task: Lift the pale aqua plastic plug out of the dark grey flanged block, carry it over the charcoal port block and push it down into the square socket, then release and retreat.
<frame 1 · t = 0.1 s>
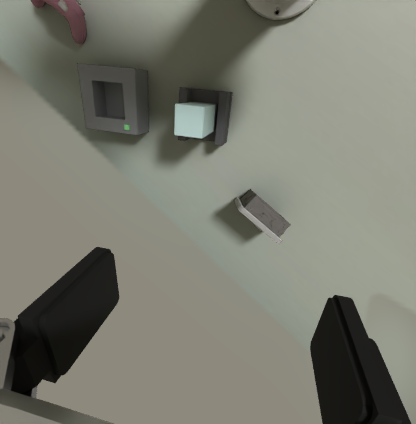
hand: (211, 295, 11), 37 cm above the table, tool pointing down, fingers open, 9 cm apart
electrical switch: (260, 204, 47), on the table
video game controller: (68, 9, 40), on the table
plug: (205, 116, 41), point 1 cm above the table, touching dark grey flanged block
port: (122, 100, 44), on the table
dark grey flanged block: (206, 115, 42), on the table
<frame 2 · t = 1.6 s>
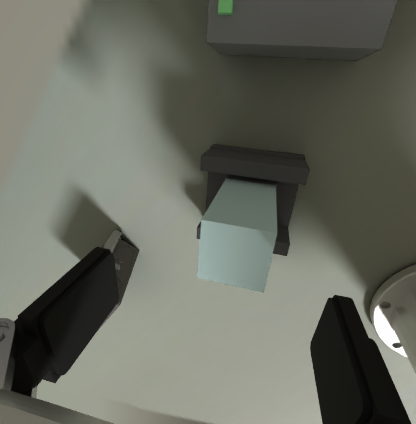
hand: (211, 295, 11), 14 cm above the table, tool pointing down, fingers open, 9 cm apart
electrical switch: (121, 259, 31), on the table
plug: (249, 195, 22), point 1 cm above the table, touching dark grey flanged block
dark grey flanged block: (250, 191, 23), on the table
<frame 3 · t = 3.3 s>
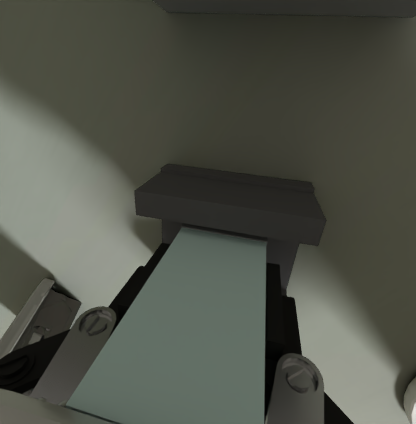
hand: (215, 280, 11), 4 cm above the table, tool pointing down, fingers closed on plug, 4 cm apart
electrical switch: (61, 312, 23), on the table
plug: (226, 243, 14), point 1 cm above the table, touching gripper, dark grey flanged block
dark grey flanged block: (228, 234, 15), on the table
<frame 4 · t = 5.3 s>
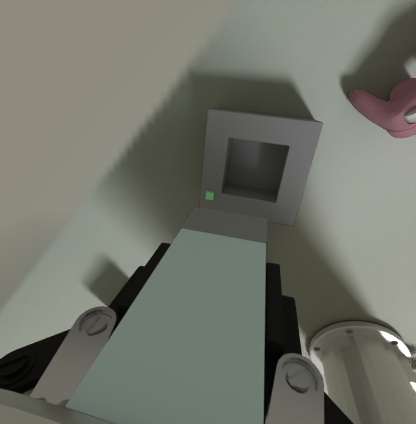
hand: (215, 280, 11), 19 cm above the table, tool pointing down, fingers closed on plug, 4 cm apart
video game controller: (411, 73, 21), on the table
plug: (226, 243, 14), point 16 cm above the table, touching gripper
port: (255, 161, 27), on the table
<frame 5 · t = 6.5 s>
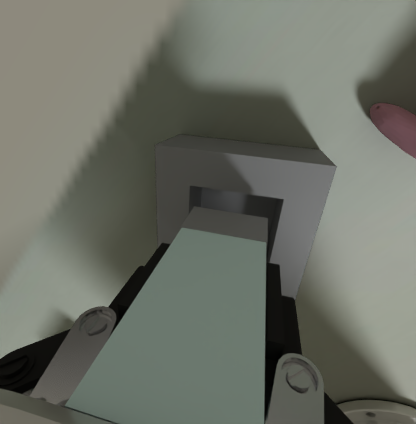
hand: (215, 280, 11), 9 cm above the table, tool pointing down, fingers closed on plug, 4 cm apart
plug: (226, 243, 14), point 6 cm above the table, touching gripper
port: (237, 205, 19), on the table
when the fingers open (5 cm above the table, at t = 7.6 s): plug stays where it is, resting on port.
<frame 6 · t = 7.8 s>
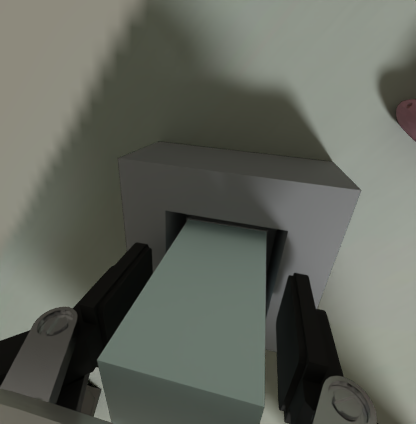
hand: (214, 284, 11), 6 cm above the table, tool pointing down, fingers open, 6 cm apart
electrical switch: (85, 392, 31), on the table
plug: (229, 235, 15), point 1 cm above the table, touching port
port: (230, 226, 16), on the table
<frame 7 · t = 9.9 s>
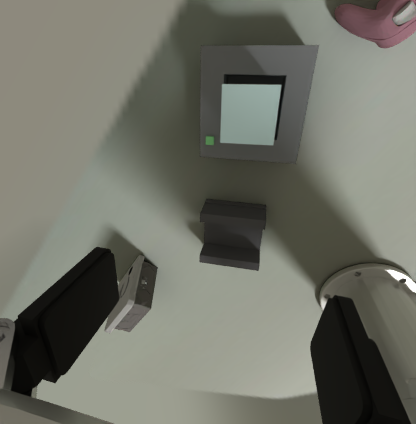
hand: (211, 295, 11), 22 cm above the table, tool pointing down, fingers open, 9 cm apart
electrical switch: (143, 274, 43), on the table
plug: (252, 106, 26), point 1 cm above the table, touching port
port: (252, 105, 27), on the table
dark grey flanged block: (233, 227, 35), on the table
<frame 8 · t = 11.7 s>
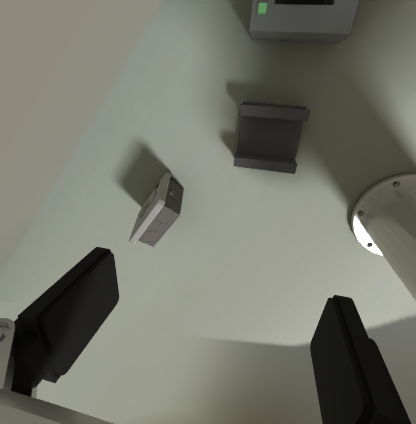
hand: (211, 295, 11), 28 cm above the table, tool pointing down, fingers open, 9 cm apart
electrical switch: (168, 198, 42), on the table
dark grey flanged block: (268, 135, 34), on the table
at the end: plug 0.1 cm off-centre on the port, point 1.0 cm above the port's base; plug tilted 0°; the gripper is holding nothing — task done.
